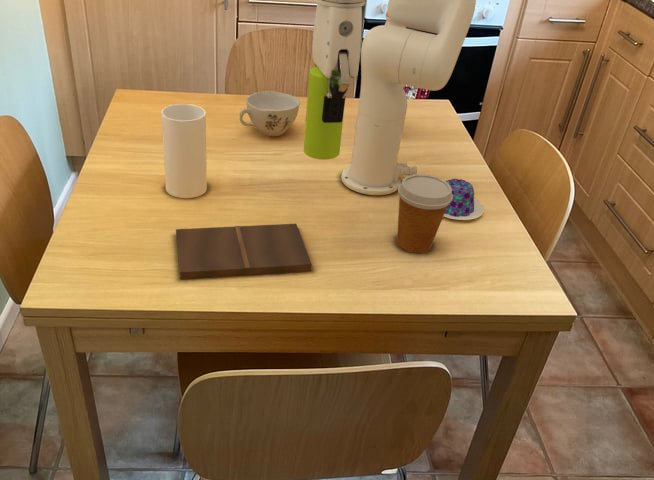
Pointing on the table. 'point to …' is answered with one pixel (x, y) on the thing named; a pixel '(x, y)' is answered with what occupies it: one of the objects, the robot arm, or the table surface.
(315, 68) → the soap dispenser
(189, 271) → the walnut board
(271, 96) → the teacup
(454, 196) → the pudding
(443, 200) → the disposable coffee cup
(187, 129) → the cup
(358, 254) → the table surface
